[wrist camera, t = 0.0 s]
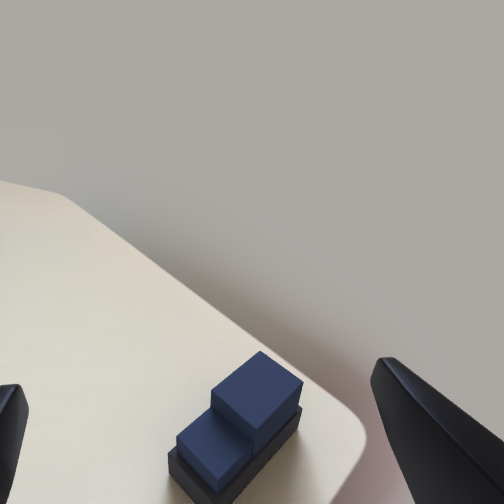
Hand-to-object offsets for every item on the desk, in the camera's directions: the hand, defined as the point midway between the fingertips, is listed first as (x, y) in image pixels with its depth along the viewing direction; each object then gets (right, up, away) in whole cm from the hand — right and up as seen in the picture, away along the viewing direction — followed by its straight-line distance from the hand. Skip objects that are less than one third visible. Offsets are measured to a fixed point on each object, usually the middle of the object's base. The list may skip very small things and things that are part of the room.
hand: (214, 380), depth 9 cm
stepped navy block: (0, -11, +17) cm, 21 cm away
